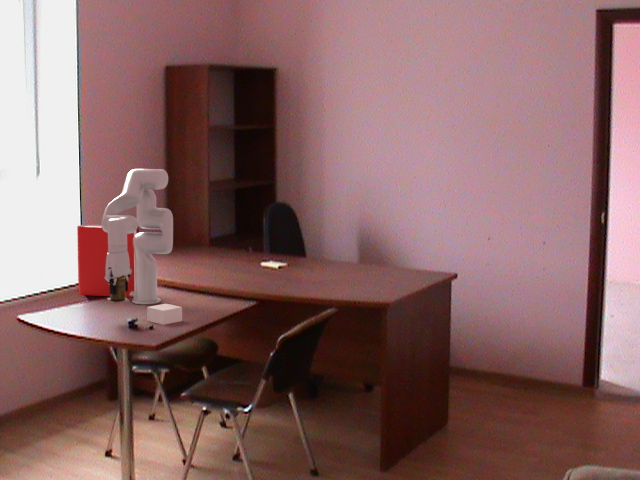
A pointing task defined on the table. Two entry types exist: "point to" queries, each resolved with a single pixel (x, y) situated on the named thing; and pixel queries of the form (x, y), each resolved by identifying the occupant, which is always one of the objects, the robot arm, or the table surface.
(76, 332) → the table surface
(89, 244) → the book
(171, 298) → the table surface
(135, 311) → the table surface
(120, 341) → the table surface
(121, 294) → the condiment
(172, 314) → the cream block
